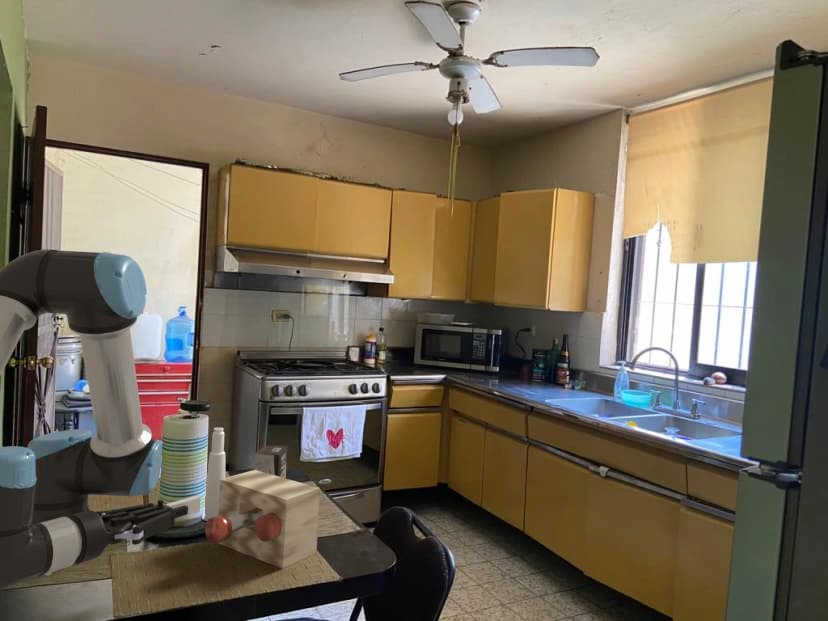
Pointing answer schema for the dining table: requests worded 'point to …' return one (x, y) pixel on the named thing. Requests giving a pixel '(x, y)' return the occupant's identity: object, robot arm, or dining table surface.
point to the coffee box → (271, 460)
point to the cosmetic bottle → (215, 473)
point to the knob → (229, 524)
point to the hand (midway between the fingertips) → (197, 504)
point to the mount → (272, 517)
